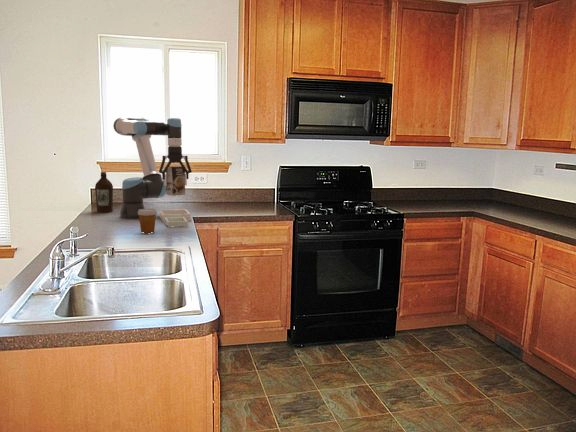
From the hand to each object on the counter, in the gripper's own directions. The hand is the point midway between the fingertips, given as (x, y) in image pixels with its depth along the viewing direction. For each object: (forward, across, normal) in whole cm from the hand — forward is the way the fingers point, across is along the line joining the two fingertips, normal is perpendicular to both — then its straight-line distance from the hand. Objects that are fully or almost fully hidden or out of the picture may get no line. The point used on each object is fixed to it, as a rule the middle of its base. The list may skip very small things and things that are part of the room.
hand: (175, 185), depth 281 cm
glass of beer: (+22, -19, -25) cm, 38 cm away
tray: (+22, -1, -7) cm, 23 cm away
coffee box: (+6, 0, 0) cm, 6 cm away
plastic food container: (+21, +1, +13) cm, 25 cm away
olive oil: (+21, -37, +48) cm, 64 cm away
